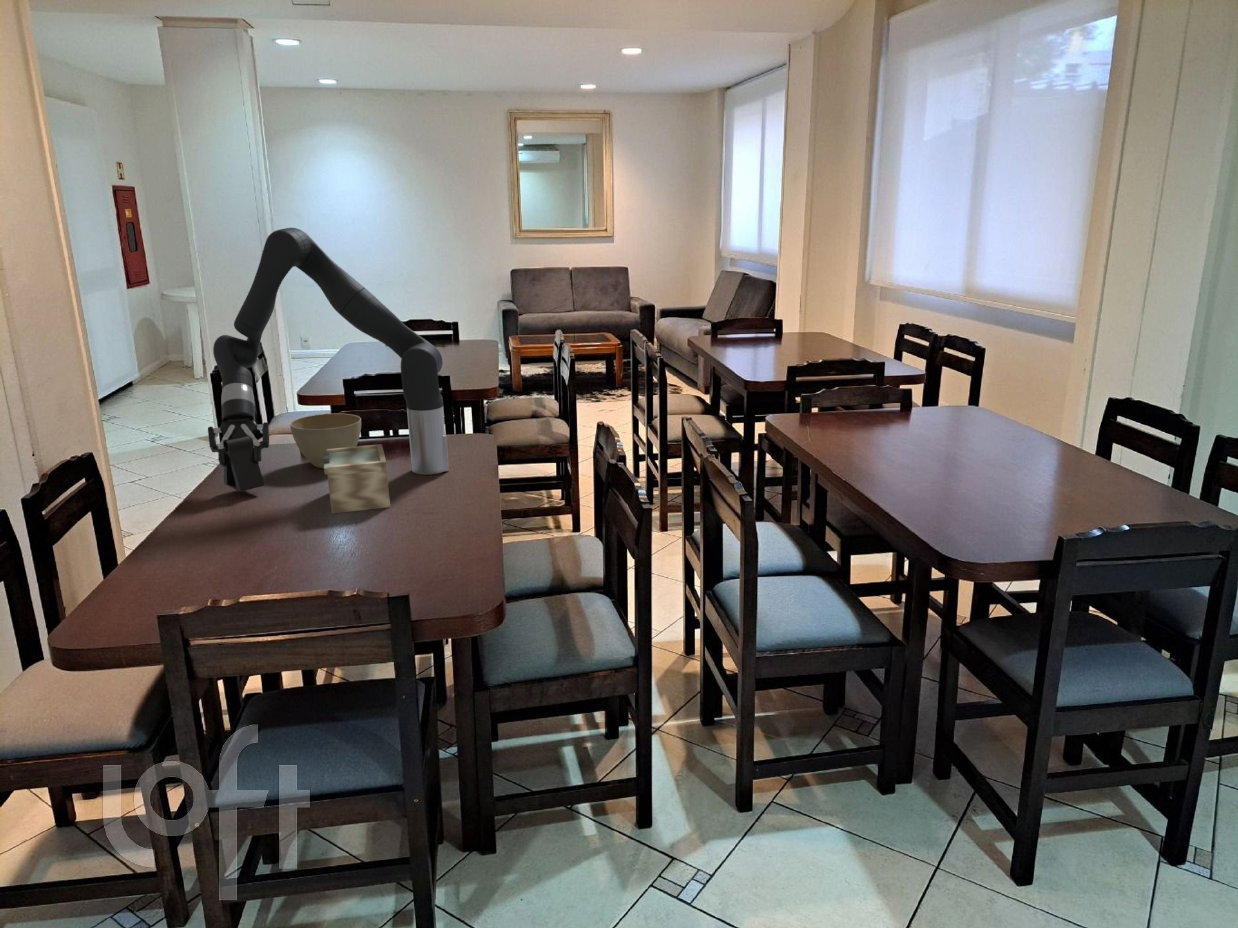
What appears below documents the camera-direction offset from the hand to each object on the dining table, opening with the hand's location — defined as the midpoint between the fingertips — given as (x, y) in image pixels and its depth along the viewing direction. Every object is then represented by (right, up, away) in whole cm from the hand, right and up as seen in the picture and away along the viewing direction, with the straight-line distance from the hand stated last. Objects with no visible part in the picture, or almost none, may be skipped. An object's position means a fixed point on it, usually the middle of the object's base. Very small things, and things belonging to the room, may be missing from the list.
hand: (240, 463), depth 205 cm
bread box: (+29, -9, -1) cm, 30 cm away
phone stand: (-1, -5, +3) cm, 6 cm away
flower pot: (+13, 0, +27) cm, 30 cm away
